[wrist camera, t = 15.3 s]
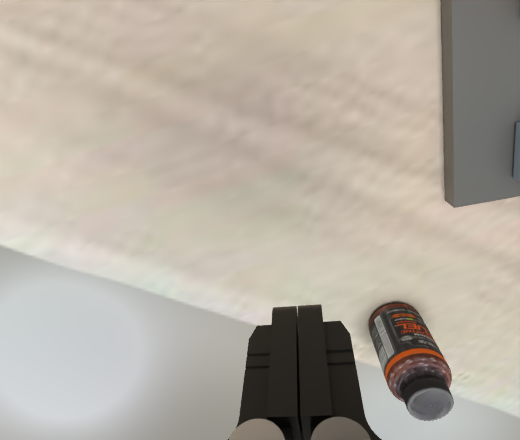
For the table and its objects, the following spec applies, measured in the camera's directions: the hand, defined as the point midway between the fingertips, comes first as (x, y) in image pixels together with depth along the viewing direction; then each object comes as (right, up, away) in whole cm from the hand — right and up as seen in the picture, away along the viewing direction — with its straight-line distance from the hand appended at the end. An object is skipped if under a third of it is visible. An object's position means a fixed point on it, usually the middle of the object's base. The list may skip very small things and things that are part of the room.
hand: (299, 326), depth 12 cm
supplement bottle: (+14, -8, +31) cm, 35 cm away
